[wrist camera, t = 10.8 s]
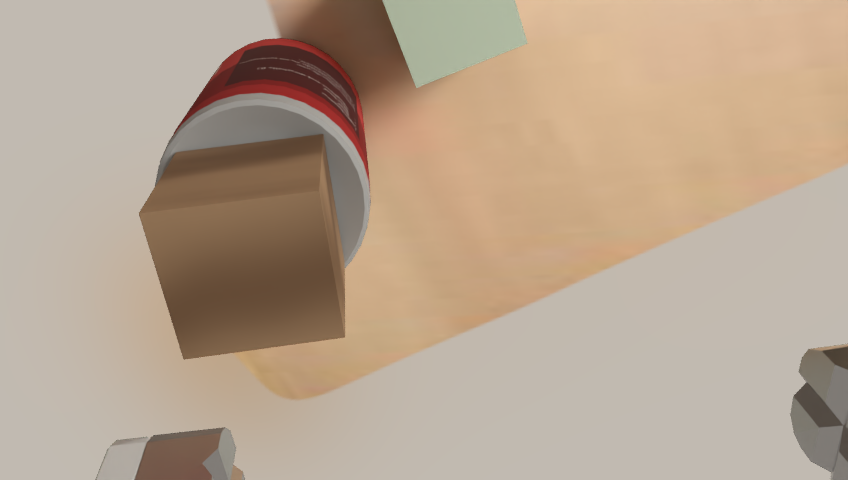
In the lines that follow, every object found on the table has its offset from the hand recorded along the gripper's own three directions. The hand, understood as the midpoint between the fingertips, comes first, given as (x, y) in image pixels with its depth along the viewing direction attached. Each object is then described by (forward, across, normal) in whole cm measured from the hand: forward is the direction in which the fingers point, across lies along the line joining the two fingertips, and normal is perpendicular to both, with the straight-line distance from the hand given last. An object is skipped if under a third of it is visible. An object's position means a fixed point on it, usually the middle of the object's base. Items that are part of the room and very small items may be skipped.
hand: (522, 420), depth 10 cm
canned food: (+27, +6, +4) cm, 28 cm away
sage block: (+27, -2, -1) cm, 27 cm away
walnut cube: (+16, +6, +4) cm, 17 cm away
